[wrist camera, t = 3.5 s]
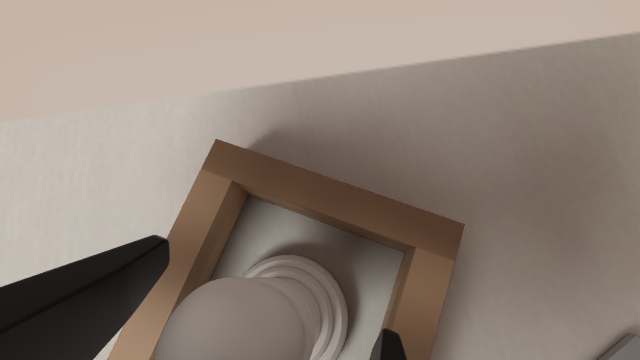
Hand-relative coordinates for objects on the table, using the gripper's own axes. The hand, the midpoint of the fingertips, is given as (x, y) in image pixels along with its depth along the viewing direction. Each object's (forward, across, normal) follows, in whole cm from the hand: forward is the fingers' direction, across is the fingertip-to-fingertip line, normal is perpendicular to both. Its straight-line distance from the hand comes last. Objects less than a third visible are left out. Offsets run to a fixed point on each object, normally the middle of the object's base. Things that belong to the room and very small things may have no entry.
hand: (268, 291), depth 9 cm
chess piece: (+4, 0, +6) cm, 7 cm away
